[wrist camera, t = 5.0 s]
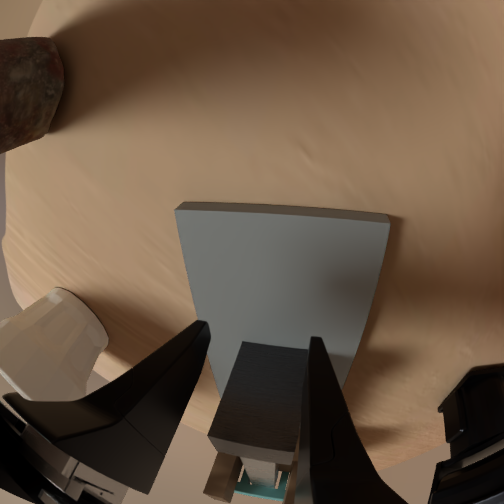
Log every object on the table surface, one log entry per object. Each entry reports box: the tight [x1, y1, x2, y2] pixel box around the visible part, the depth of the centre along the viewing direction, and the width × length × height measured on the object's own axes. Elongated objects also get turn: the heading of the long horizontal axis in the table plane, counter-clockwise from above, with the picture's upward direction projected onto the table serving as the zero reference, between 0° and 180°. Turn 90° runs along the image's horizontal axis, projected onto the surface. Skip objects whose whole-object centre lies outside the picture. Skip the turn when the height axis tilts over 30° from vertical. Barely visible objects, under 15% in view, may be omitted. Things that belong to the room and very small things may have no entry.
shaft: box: [207, 341, 308, 489], centre depth 20 cm, size 4×23×7 cm, turn 3°
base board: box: [174, 202, 391, 424], centre depth 21 cm, size 10×33×1 cm, turn 3°
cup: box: [0, 288, 109, 401], centre depth 20 cm, size 12×12×11 cm
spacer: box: [234, 469, 289, 501], centre depth 23 cm, size 8×3×5 cm, turn 93°
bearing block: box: [203, 428, 300, 504], centre depth 22 cm, size 9×6×10 cm, turn 93°
